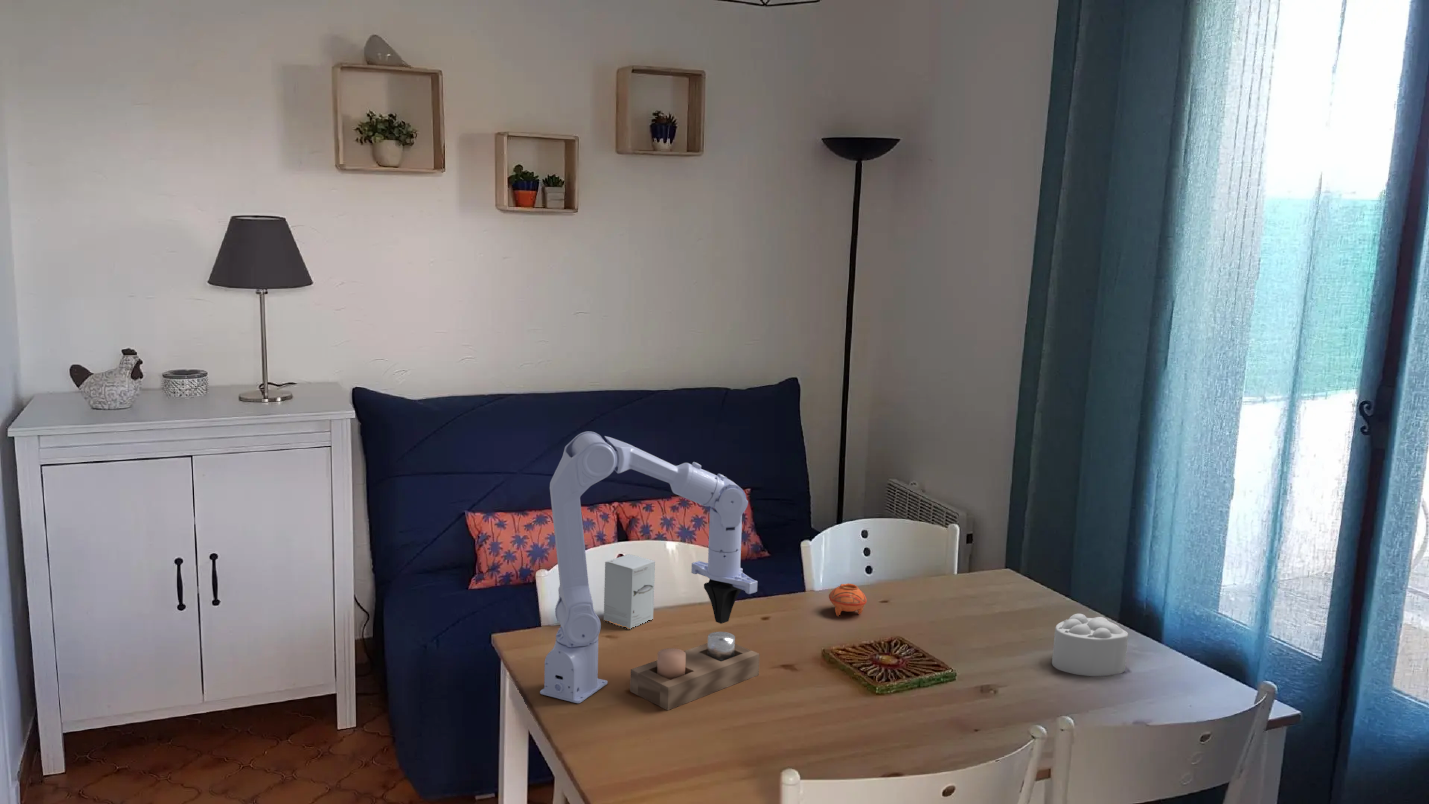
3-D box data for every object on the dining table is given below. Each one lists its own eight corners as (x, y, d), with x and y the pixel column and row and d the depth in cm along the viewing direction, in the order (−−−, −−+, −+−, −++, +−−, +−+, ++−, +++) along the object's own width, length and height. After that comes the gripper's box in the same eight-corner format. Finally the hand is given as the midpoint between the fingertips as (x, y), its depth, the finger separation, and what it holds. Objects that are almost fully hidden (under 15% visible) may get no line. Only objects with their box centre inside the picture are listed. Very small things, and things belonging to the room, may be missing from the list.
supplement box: (630, 630, 216) (631, 568, 214) (602, 621, 220) (603, 560, 218) (654, 620, 221) (656, 560, 219) (627, 611, 226) (628, 552, 224)
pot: (818, 607, 232) (827, 576, 231) (851, 612, 234) (859, 582, 234) (834, 619, 224) (842, 587, 224) (867, 625, 227) (876, 593, 226)
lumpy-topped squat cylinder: (1132, 673, 204) (1136, 628, 202) (1071, 679, 200) (1075, 633, 198) (1098, 651, 213) (1102, 609, 212) (1039, 656, 210) (1043, 613, 208)
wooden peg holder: (667, 710, 181) (668, 687, 181) (630, 691, 188) (630, 669, 187) (758, 674, 197) (759, 653, 196) (720, 658, 203) (721, 638, 203)
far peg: (720, 665, 193) (721, 644, 192) (701, 656, 196) (702, 636, 195) (739, 658, 196) (740, 637, 195) (720, 650, 199) (721, 629, 199)
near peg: (670, 683, 184) (670, 661, 184) (651, 674, 188) (651, 653, 187) (690, 676, 188) (691, 654, 187) (672, 667, 191) (672, 646, 190)
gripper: (770, 553, 190) (767, 627, 193) (712, 534, 201) (709, 605, 203) (742, 561, 185) (739, 637, 188) (683, 541, 196) (681, 614, 198)
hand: (722, 621), depth 195 cm, fingers closed
